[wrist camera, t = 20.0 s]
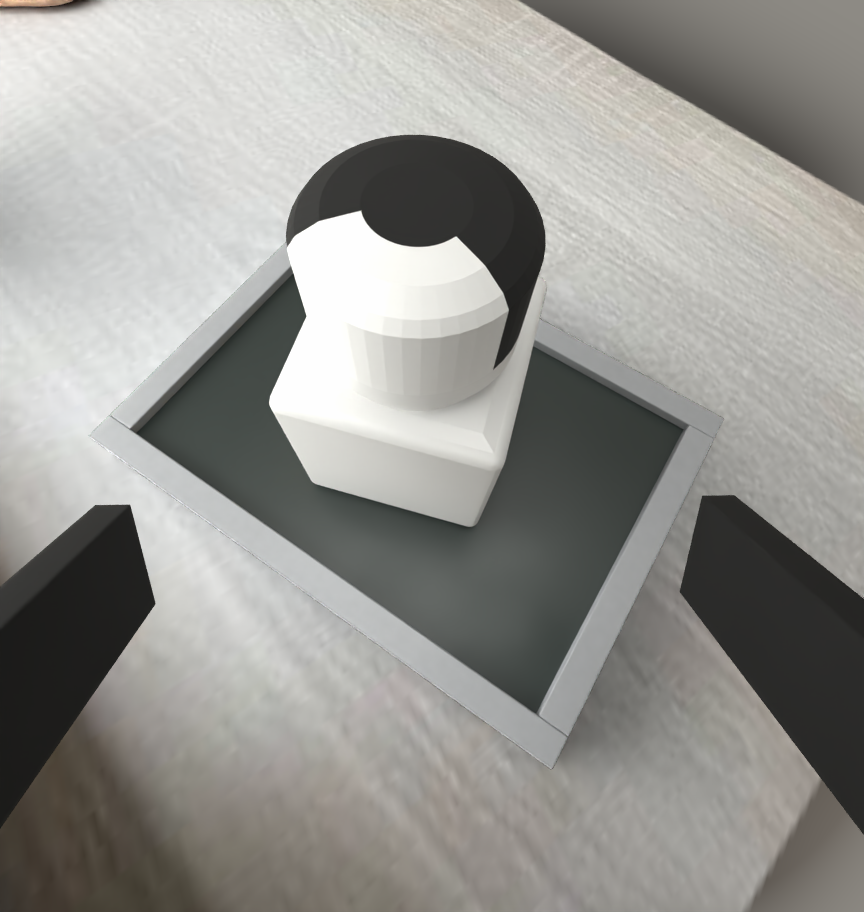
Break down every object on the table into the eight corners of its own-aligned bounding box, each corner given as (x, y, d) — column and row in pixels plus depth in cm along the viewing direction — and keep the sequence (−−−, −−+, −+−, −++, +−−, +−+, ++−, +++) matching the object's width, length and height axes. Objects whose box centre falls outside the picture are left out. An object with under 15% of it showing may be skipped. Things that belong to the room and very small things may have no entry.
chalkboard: (701, 436, 24) (725, 418, 23) (539, 760, 19) (552, 770, 17) (331, 231, 28) (325, 201, 27) (113, 454, 23) (87, 435, 21)
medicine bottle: (363, 345, 24) (320, 69, 13) (512, 383, 24) (601, 131, 12) (308, 484, 21) (195, 289, 10) (475, 531, 21) (546, 379, 10)
